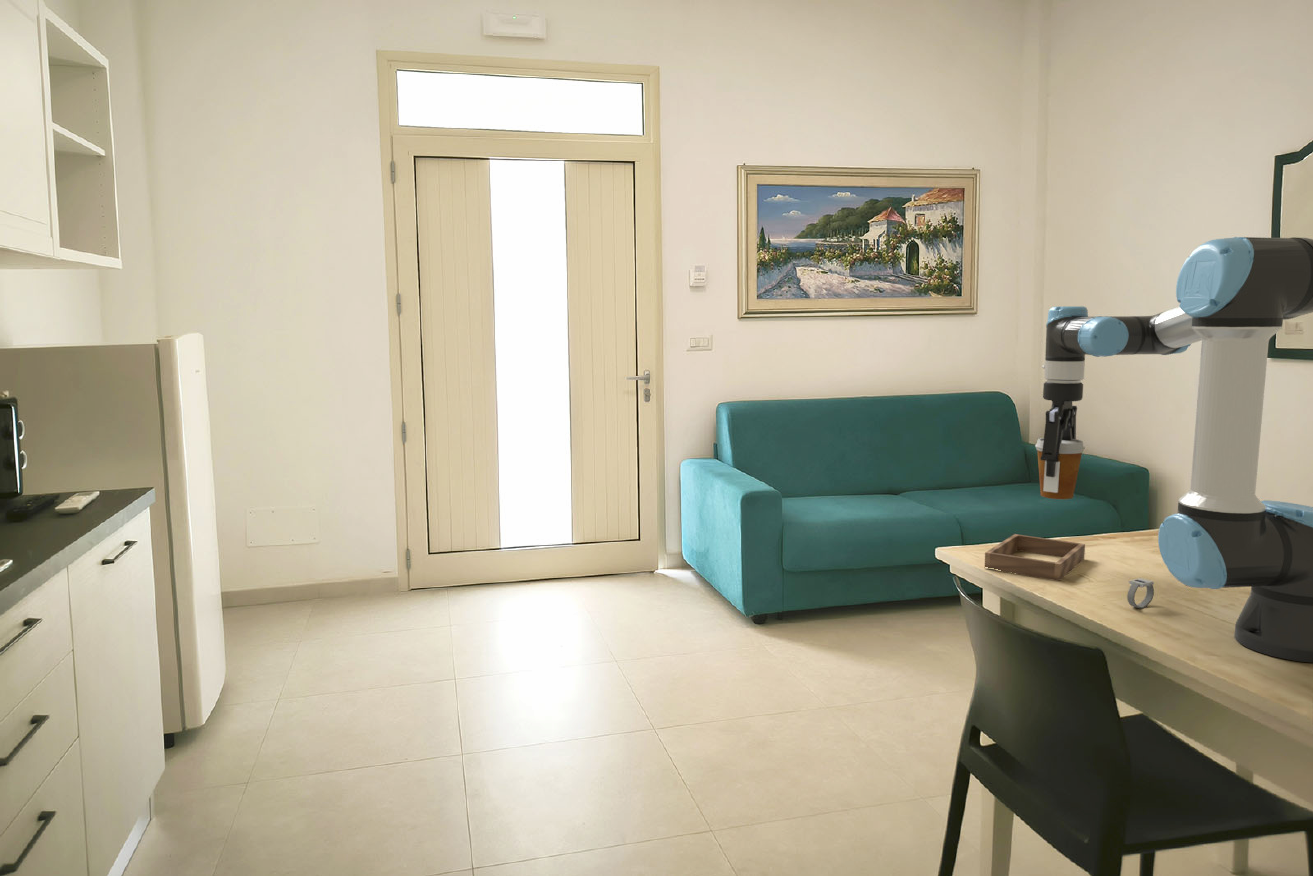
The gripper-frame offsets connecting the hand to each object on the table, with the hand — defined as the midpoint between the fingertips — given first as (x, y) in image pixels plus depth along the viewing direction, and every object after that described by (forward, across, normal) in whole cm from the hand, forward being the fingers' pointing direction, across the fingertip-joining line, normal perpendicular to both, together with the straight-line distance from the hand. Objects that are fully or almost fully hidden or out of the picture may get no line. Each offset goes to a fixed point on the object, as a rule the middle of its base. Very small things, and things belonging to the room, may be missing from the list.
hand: (1057, 488), depth 187 cm
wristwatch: (+17, +18, +21) cm, 32 cm away
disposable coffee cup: (+2, 0, 0) cm, 2 cm away
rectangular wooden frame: (+17, +1, -3) cm, 17 cm away
